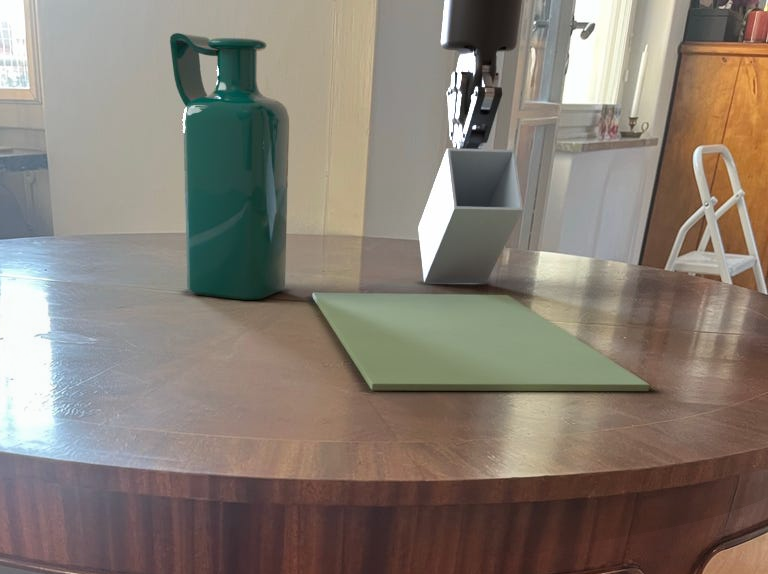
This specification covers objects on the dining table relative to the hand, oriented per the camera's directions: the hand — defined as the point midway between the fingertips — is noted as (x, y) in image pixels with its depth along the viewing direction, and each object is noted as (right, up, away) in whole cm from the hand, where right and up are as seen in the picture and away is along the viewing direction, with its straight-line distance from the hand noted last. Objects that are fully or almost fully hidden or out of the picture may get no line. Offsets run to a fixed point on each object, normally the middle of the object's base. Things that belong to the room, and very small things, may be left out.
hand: (463, 188), depth 102 cm
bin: (-1, -6, +4) cm, 7 cm away
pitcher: (-25, -13, -5) cm, 28 cm away
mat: (-5, -22, -21) cm, 31 cm away
